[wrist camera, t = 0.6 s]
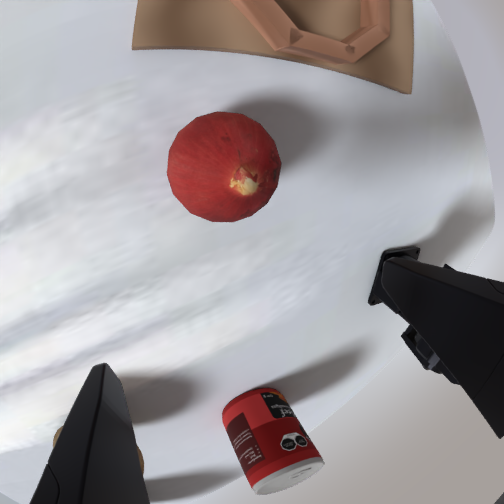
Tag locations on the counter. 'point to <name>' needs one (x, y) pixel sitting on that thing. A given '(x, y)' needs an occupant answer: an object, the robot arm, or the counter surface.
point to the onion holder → (290, 33)
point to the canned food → (269, 441)
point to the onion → (223, 167)
